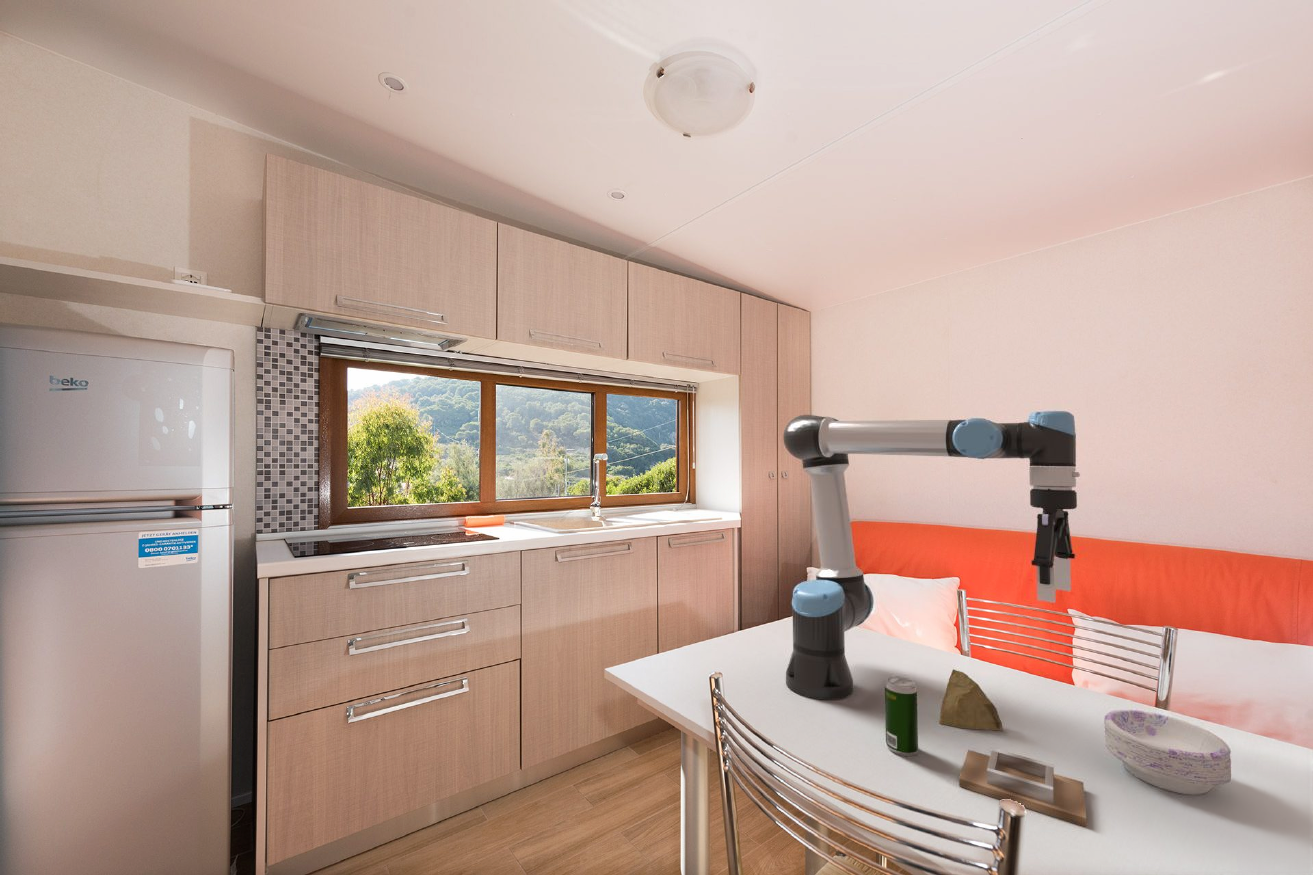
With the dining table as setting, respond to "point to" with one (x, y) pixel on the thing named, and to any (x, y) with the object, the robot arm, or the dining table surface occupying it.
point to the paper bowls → (1168, 751)
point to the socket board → (1024, 784)
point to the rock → (968, 705)
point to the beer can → (901, 716)
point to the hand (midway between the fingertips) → (1054, 595)
